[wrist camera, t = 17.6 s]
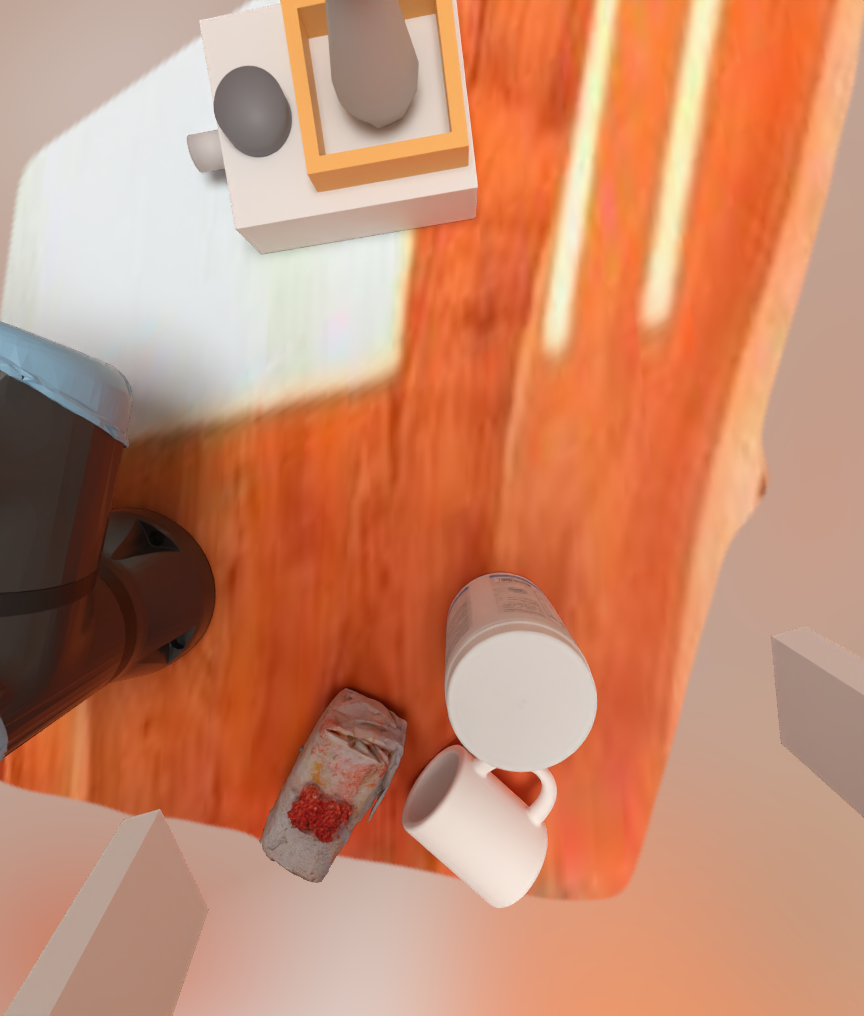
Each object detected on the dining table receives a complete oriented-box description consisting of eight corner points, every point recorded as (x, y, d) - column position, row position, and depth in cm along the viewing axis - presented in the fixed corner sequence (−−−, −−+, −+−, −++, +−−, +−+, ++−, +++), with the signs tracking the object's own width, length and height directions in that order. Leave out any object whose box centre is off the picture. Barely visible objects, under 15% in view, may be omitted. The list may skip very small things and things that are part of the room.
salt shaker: (347, 148, 36) (284, -16, 23) (333, 61, 35) (261, -158, 22) (427, 132, 36) (409, -43, 23) (415, 44, 35) (390, -190, 22)
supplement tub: (481, 689, 46) (491, 803, 32) (426, 603, 45) (411, 679, 31) (574, 638, 45) (629, 732, 30) (520, 548, 44) (550, 601, 30)
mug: (481, 850, 48) (486, 930, 40) (405, 783, 48) (395, 850, 40) (571, 769, 47) (594, 836, 39) (493, 698, 46) (500, 751, 38)
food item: (340, 670, 47) (308, 730, 37) (416, 708, 47) (405, 779, 37) (280, 787, 49) (235, 874, 39) (353, 824, 49) (327, 920, 39)
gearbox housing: (227, 260, 42) (177, 221, 35) (195, 79, 41) (136, -3, 33) (475, 218, 41) (479, 168, 33) (453, 28, 39) (451, -69, 32)
